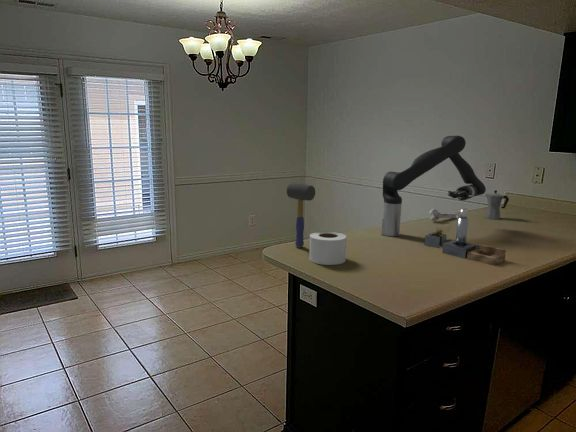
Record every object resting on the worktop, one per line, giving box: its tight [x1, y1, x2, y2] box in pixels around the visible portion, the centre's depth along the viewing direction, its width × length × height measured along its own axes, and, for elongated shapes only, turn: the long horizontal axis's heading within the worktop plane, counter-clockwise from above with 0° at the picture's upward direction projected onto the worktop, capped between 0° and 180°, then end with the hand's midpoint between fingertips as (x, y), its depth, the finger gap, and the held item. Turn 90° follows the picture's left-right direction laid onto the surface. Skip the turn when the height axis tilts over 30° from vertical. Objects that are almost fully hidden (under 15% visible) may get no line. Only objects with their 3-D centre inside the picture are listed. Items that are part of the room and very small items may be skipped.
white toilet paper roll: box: [309, 231, 348, 266], centre depth 185 cm, size 16×15×11 cm
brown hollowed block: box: [466, 243, 507, 266], centre depth 190 cm, size 12×10×5 cm
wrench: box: [428, 208, 460, 223], centre depth 271 cm, size 8×2×30 cm
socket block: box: [441, 239, 478, 259], centre depth 199 cm, size 11×11×4 cm
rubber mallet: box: [286, 182, 316, 248], centre depth 202 cm, size 12×8×30 cm, turn 50°
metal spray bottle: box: [455, 208, 469, 246], centre depth 197 cm, size 4×4×18 cm
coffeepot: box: [484, 190, 510, 221], centre depth 278 cm, size 15×9×18 cm, turn 37°
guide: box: [424, 231, 447, 249], centre depth 213 cm, size 9×7×5 cm
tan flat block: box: [435, 223, 452, 242], centre depth 220 cm, size 12×3×8 cm, turn 140°
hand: (453, 196), depth 223 cm, fingers closed
